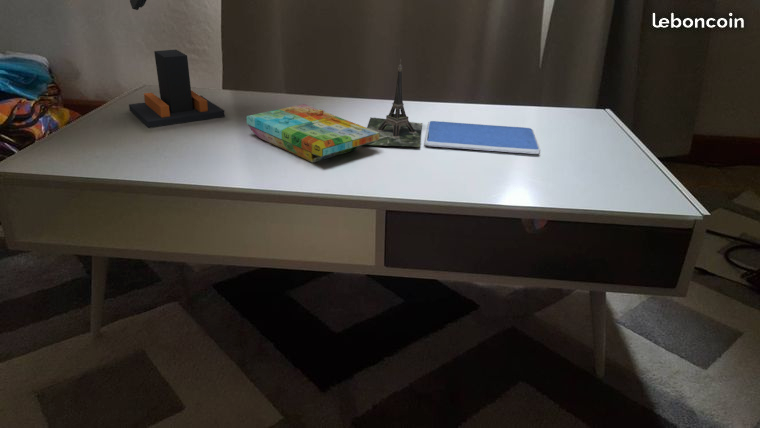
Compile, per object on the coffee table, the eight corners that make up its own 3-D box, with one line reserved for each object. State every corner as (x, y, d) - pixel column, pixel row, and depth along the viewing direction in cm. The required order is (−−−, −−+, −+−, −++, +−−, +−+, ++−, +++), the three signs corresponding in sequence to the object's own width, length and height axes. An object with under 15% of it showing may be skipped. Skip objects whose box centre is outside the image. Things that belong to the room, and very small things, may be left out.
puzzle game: (301, 99, 103) (379, 127, 90) (302, 124, 105) (378, 155, 92) (245, 110, 95) (322, 143, 83) (247, 137, 97) (322, 173, 85)
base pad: (148, 128, 100) (145, 110, 98) (129, 110, 108) (126, 93, 107) (224, 116, 107) (223, 100, 106) (201, 101, 116) (200, 85, 114)
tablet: (423, 148, 96) (424, 140, 95) (427, 125, 107) (428, 118, 107) (540, 158, 94) (541, 150, 94) (531, 134, 105) (533, 127, 105)
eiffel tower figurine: (369, 120, 109) (371, 48, 103) (422, 123, 108) (427, 51, 102) (361, 146, 96) (363, 66, 90) (421, 150, 95) (428, 70, 89)
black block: (171, 113, 104) (164, 57, 99) (161, 104, 108) (154, 51, 104) (193, 110, 106) (187, 55, 102) (182, 102, 110) (176, 49, 106)
